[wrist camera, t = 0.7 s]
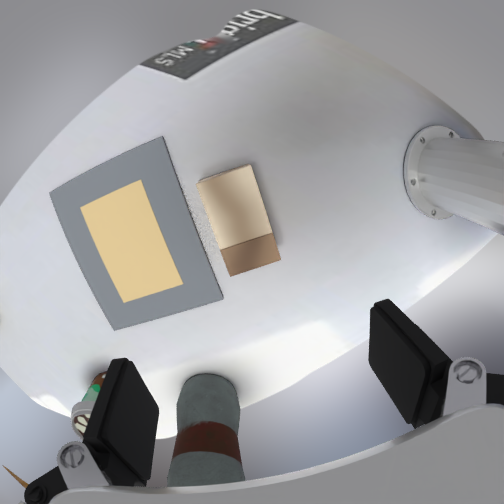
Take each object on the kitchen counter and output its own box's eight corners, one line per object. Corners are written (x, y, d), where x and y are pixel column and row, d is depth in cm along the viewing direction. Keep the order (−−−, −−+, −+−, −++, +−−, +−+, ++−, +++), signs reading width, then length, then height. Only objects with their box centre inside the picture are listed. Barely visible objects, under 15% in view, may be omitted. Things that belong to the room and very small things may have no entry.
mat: (162, 136, 29) (161, 136, 28) (223, 297, 35) (223, 299, 35) (51, 192, 29) (48, 193, 28) (115, 328, 36) (113, 331, 35)
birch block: (248, 163, 31) (251, 165, 27) (274, 246, 34) (281, 259, 30) (199, 180, 31) (195, 184, 27) (229, 261, 34) (230, 276, 30)
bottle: (168, 378, 39) (140, 570, 11) (224, 363, 39) (232, 578, 11) (196, 414, 43) (191, 581, 14) (247, 402, 42) (268, 579, 14)
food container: (85, 355, 37) (61, 399, 28) (121, 366, 38) (102, 415, 29) (90, 403, 41) (74, 444, 32) (122, 413, 42) (109, 456, 33)
